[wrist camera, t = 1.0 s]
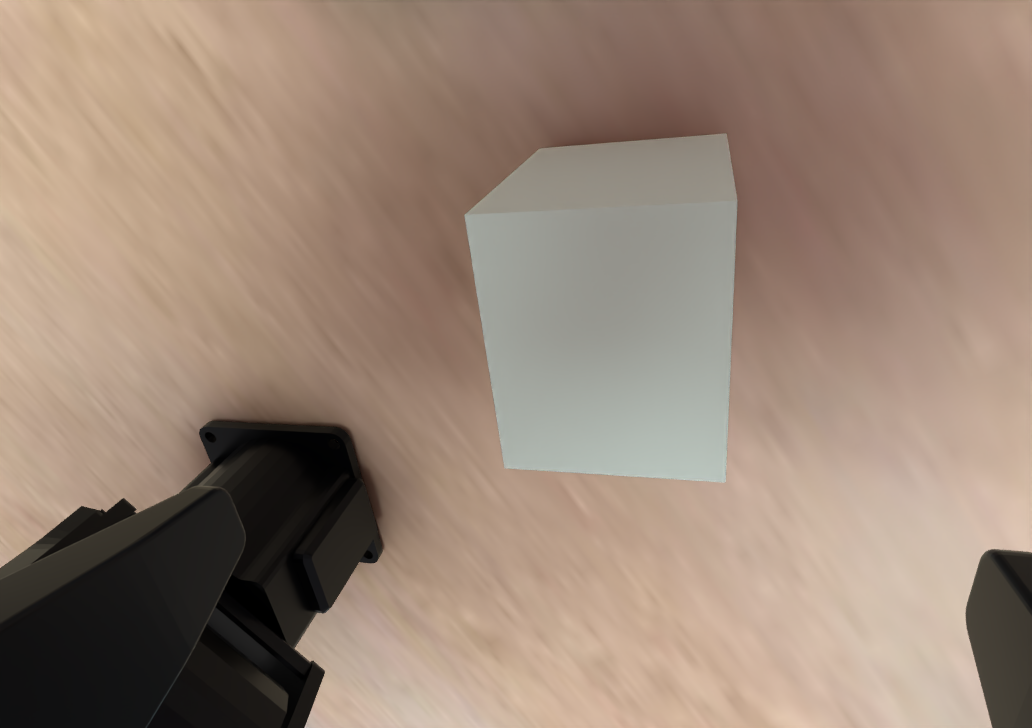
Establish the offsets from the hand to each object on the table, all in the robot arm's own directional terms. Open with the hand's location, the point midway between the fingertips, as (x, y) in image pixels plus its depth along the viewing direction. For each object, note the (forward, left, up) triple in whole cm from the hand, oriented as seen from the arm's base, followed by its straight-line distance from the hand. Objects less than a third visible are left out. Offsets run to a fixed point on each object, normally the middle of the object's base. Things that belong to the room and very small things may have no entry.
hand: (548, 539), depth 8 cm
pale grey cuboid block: (0, 0, -12) cm, 12 cm away
